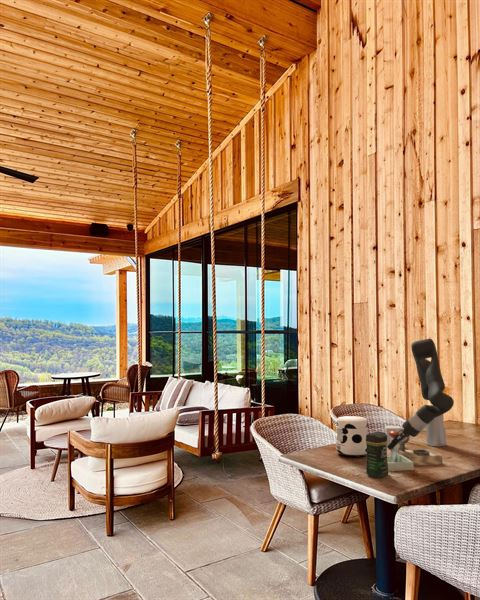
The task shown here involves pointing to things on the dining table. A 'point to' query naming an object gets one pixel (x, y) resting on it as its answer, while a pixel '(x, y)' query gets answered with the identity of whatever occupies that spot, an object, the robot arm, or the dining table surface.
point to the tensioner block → (420, 455)
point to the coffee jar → (376, 454)
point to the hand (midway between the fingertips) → (390, 447)
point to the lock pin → (396, 449)
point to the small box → (390, 428)
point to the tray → (400, 464)
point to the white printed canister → (352, 436)
